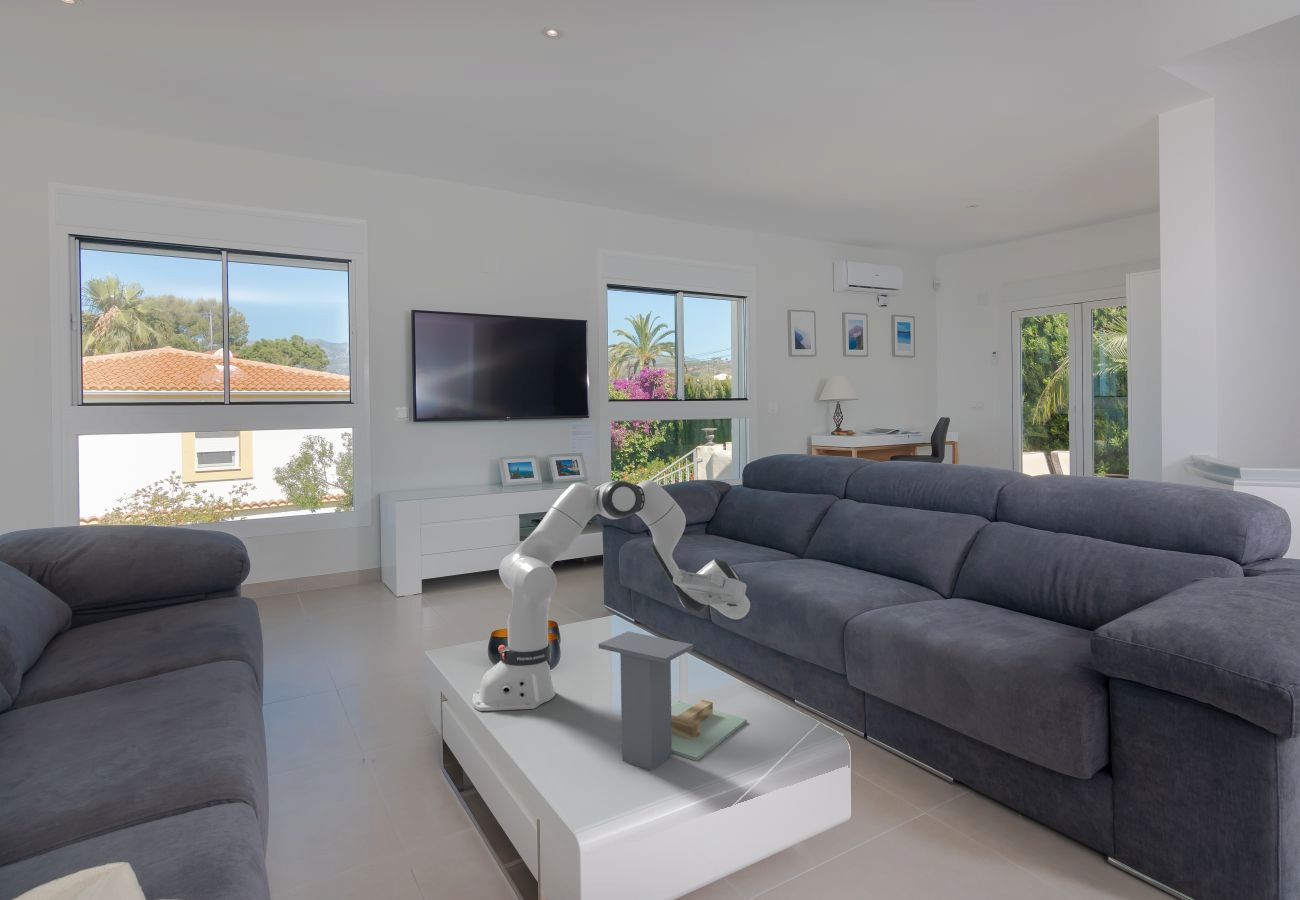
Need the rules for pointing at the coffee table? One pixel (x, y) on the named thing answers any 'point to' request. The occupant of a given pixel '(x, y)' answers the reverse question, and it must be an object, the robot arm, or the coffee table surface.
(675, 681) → the coffee table surface
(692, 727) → the t bar
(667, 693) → the stand
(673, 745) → the mat
